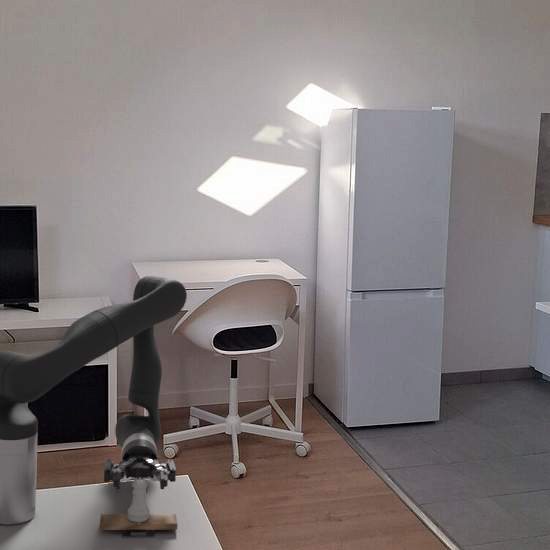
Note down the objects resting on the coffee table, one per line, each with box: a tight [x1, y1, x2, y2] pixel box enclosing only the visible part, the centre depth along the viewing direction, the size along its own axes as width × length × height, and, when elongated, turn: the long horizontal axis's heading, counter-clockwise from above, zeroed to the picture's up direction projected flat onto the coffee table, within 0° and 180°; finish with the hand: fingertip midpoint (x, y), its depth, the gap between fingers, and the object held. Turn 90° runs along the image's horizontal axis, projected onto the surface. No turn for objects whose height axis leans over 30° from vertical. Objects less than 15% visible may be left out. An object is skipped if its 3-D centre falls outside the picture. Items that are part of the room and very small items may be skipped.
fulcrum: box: [122, 530, 155, 538], centre depth 166 cm, size 6×7×1 cm
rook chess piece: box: [127, 477, 151, 523], centre depth 165 cm, size 4×4×8 cm
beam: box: [98, 513, 178, 531], centre depth 166 cm, size 15×4×1 cm, turn 100°
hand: (140, 484), depth 163 cm, fingers open, 8 cm apart
